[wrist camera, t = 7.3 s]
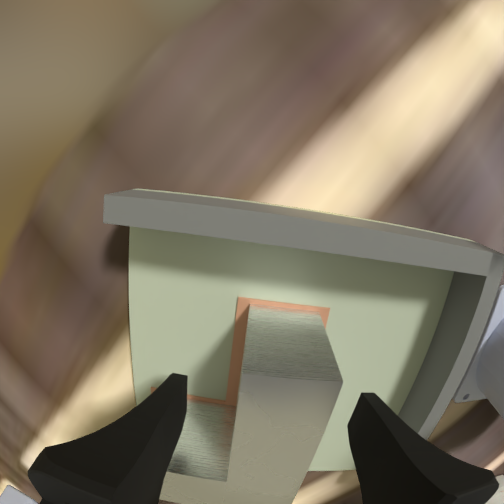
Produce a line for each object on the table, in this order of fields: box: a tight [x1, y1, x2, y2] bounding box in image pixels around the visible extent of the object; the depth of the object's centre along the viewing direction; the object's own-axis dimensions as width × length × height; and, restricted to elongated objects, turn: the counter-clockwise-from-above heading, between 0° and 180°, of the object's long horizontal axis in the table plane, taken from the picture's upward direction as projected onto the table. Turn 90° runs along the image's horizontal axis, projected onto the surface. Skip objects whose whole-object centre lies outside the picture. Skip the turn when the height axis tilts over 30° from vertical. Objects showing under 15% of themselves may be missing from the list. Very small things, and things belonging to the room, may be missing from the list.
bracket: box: [159, 303, 343, 504], centre depth 12 cm, size 9×7×5 cm
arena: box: [103, 189, 504, 471], centre depth 13 cm, size 16×16×3 cm
